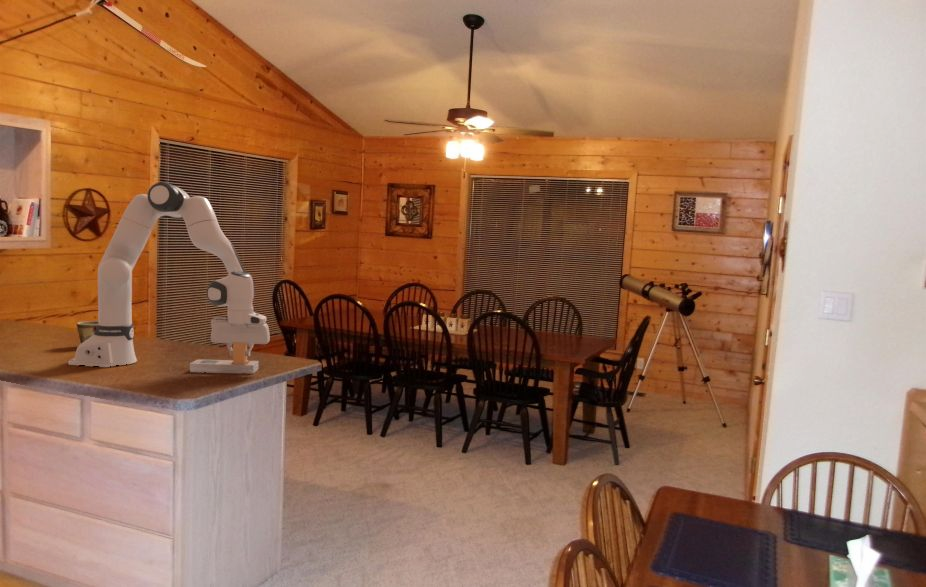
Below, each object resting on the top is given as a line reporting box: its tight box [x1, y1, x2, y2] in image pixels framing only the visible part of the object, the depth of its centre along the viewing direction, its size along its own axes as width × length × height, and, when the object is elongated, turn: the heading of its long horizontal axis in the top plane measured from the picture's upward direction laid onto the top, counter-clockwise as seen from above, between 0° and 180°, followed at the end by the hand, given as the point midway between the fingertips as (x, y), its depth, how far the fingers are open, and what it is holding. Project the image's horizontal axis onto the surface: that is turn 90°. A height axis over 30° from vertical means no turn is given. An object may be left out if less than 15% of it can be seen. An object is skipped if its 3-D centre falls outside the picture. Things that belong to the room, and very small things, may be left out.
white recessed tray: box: [189, 358, 260, 375], centre depth 256 cm, size 22×8×3 cm, turn 93°
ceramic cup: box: [76, 320, 98, 344], centre depth 292 cm, size 13×10×10 cm
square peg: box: [232, 343, 248, 364], centre depth 256 cm, size 4×4×9 cm
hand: (240, 355), depth 256 cm, fingers closed on square peg, 4 cm apart
